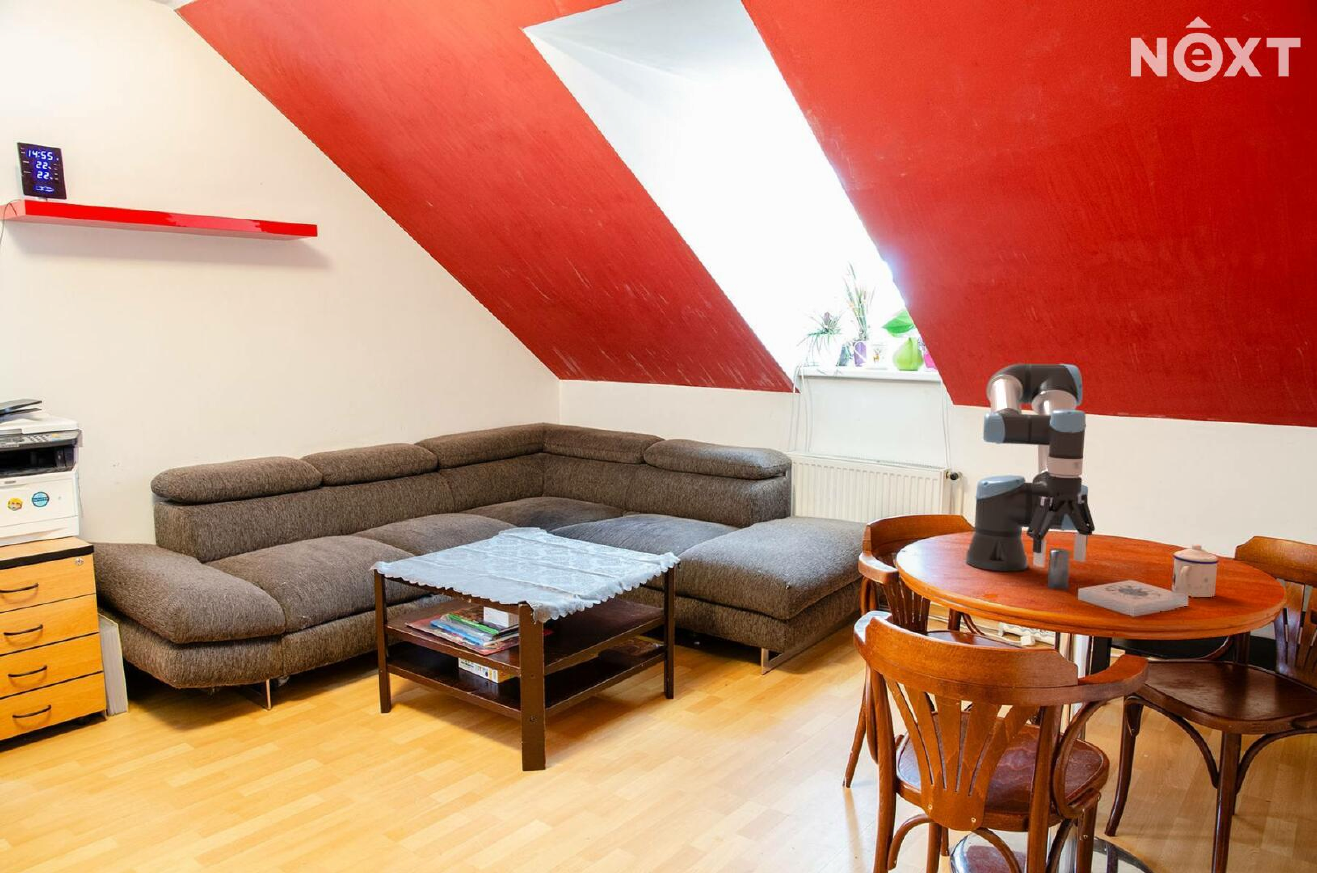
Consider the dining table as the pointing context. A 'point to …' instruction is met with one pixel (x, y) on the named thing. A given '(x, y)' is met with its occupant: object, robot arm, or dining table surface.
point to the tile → (1132, 598)
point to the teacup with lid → (1194, 572)
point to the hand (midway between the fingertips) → (1059, 563)
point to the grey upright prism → (1058, 569)
